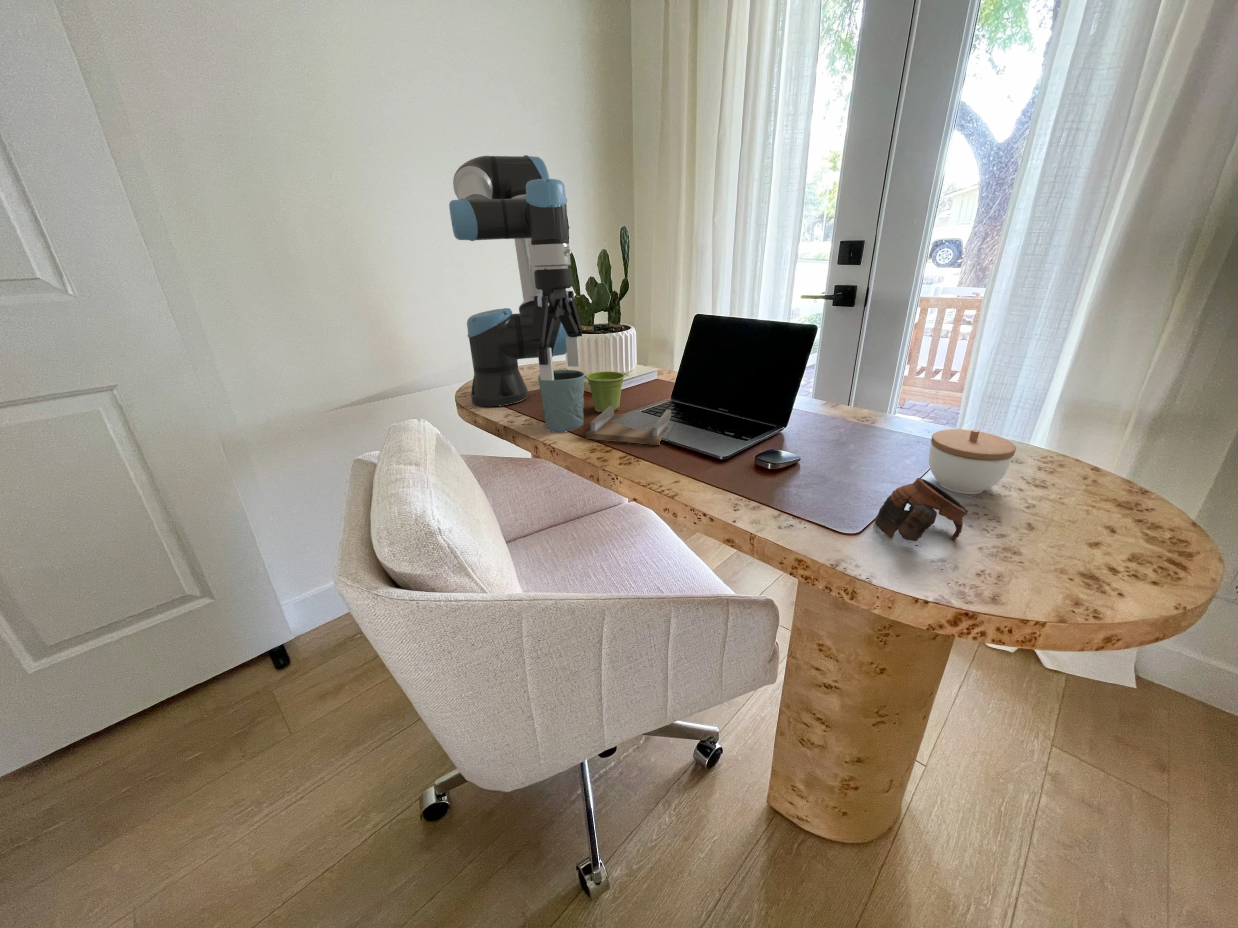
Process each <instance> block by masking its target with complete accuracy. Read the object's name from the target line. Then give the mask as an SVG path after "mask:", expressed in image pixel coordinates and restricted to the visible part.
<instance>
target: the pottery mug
mask: <svg viewBox="0 0 1238 928" xmlns="http://www.w3.org/2000/svg"><path fill="white" fill-rule="evenodd" d="M907 505H909V507H908V510H907V509H906V510H905V508H906V507H907ZM936 510H937V511H938V512H937V511H936ZM968 512H969V511H968V510H967V509H966V507H965V506H964V505H962V504H961V503H960V502H959V501H958V500H957V499H955V498H954V497H952V496H951V495H949V494H948V493H947V492H946V491H944V490H942V489H941V488H939V486H936V485H935V484H934V483H931V482H930V481H928V480H926V479H924V478H921V477H917V478H916V479H915V481H914V482H913V483H908V484H906V485H902V486H900V487H897V488H896V489H894V490H893V491H892V493H891V494H889V496H888V497H887V498H886V500H885V501H884V502H883V505H881V507H880V508H879V510H878V514H877V515H876V517H875V519H874V521H875V524H876V526H877V527H878V528H879V530H880V531H881V532H882V533H883V534H884V535H885V536H886V537H888V538H889V539H893V538H894V536H895V533H896V532H897V531H898V533H899V535H900V537H901V538H903V540H905V541H906V540H907V541H912V542H913V541H914V542H917V541H918V540H919V539H920V538H922V536H923V534H924V533H925V531H926V530H929V528H931V527H932V525H934V524H935V522H936V519H937V516H938V515H940V516H942V517H945V518H946V519H947V520H949V521H952V522H953V524H954V526H955V527H954V528H955V530H954V533H953V534H952V536H951V537H950V539H951V540H952V541H956V540H957V538H959V537H960V535H961V533H962V529H963V526H964V523H963V521H964V520H963V518H964V517H965V516H967V514H968ZM937 513H938V514H937Z"/></svg>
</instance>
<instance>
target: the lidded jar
mask: <svg viewBox="0 0 1238 928" xmlns="http://www.w3.org/2000/svg"><path fill="white" fill-rule="evenodd" d="M930 443H931V444H930V447H929V453H928V465H929V468H930V472H931V474H932V475H933V476H934V478H935V480H936V481H937V482H938V484H939V486H940V487H941V488H944V490H947V491H950V492H953V493H958V494H962V495H979V494H982V493H983V492H984V491H986V490H988V489H990V488H992V487H995V486H996V485H997V484H999V482H1000V481H1001V480H1002V479H1003V478H1004V477H1005V475H1006V473H1007V472H1008V470H1009V468H1010V465H1011V462H1012V459H1013V457H1014V455H1015V453H1016V451H1017V448H1016V445H1015V444H1014V443H1013V442H1012V441H1010V440H1008V439H1007V438H1004V437H1001V436H998V435H996V434H992V433H987V432H983V431H980V430H977V429H960V428H959V429H955V428H954V429H943V430H939V431H936V432H933V434H932V435H931V440H930Z"/></svg>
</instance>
